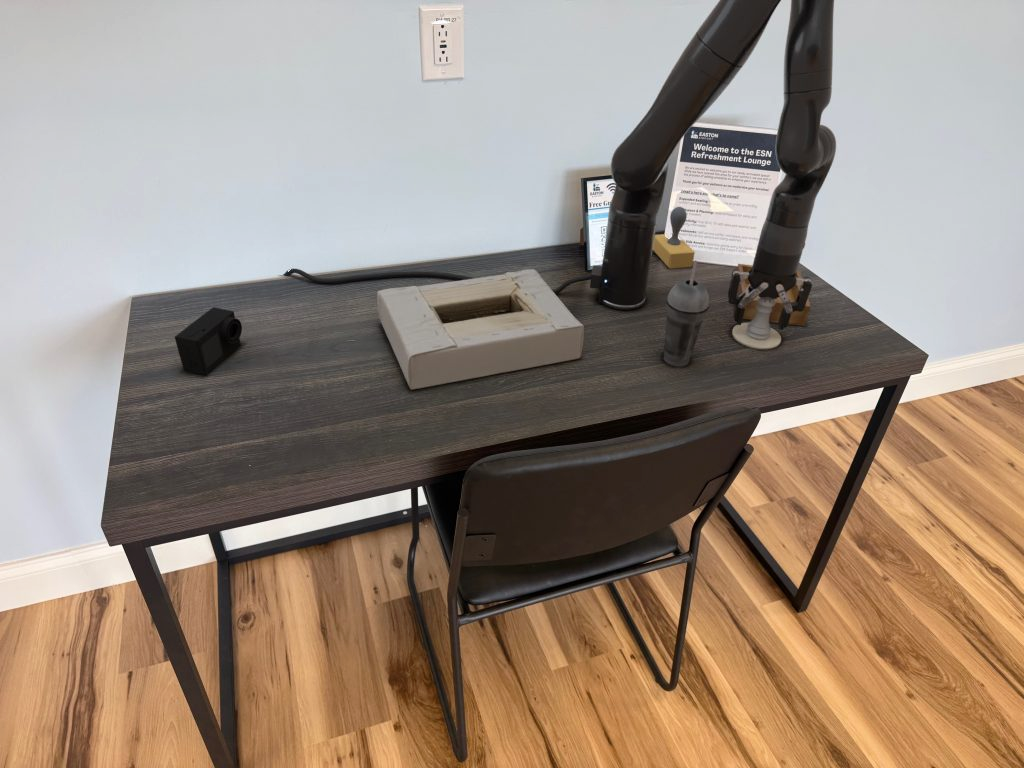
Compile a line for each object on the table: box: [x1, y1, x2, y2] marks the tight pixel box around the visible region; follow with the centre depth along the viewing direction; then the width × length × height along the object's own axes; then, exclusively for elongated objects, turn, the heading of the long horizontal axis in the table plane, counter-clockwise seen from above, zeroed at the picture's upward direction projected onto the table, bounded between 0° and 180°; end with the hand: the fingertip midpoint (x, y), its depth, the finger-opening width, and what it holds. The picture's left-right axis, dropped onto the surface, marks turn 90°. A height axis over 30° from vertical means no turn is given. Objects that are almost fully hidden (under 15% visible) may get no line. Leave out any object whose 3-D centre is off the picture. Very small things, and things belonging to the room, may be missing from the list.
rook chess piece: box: [746, 297, 775, 340], centre depth 136 cm, size 4×4×8 cm
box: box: [376, 268, 585, 391], centre depth 132 cm, size 23×8×32 cm
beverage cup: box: [663, 259, 710, 367], centre depth 126 cm, size 7×7×20 cm
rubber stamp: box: [652, 206, 696, 270], centre depth 162 cm, size 10×6×12 cm, turn 13°
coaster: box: [731, 322, 782, 350], centre depth 139 cm, size 9×9×1 cm
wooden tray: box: [736, 263, 812, 327], centre depth 148 cm, size 13×16×4 cm
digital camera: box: [174, 307, 243, 376], centre depth 125 cm, size 10×5×7 cm, turn 163°
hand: (759, 325), depth 137 cm, fingers open, 7 cm apart
